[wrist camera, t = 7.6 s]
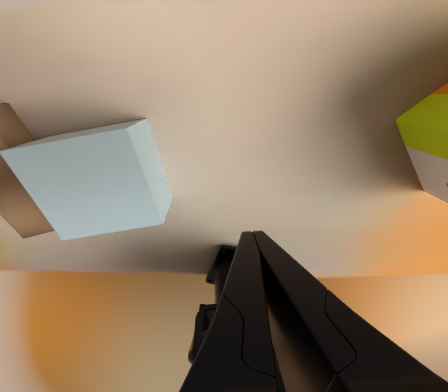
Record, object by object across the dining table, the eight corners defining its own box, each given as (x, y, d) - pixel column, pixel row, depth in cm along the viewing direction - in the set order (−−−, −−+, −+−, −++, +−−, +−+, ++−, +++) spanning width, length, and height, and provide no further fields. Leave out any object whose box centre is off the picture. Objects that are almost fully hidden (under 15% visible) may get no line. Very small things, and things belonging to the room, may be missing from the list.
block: (173, 196, 22) (163, 224, 17) (92, 209, 22) (62, 240, 18) (147, 117, 18) (126, 127, 13) (50, 135, 18) (-2, 151, 14)
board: (86, 209, 22) (69, 226, 19) (45, 220, 22) (23, 238, 20) (12, 102, 17) (-25, 105, 14) (-40, 119, 17) (-86, 124, 15)
